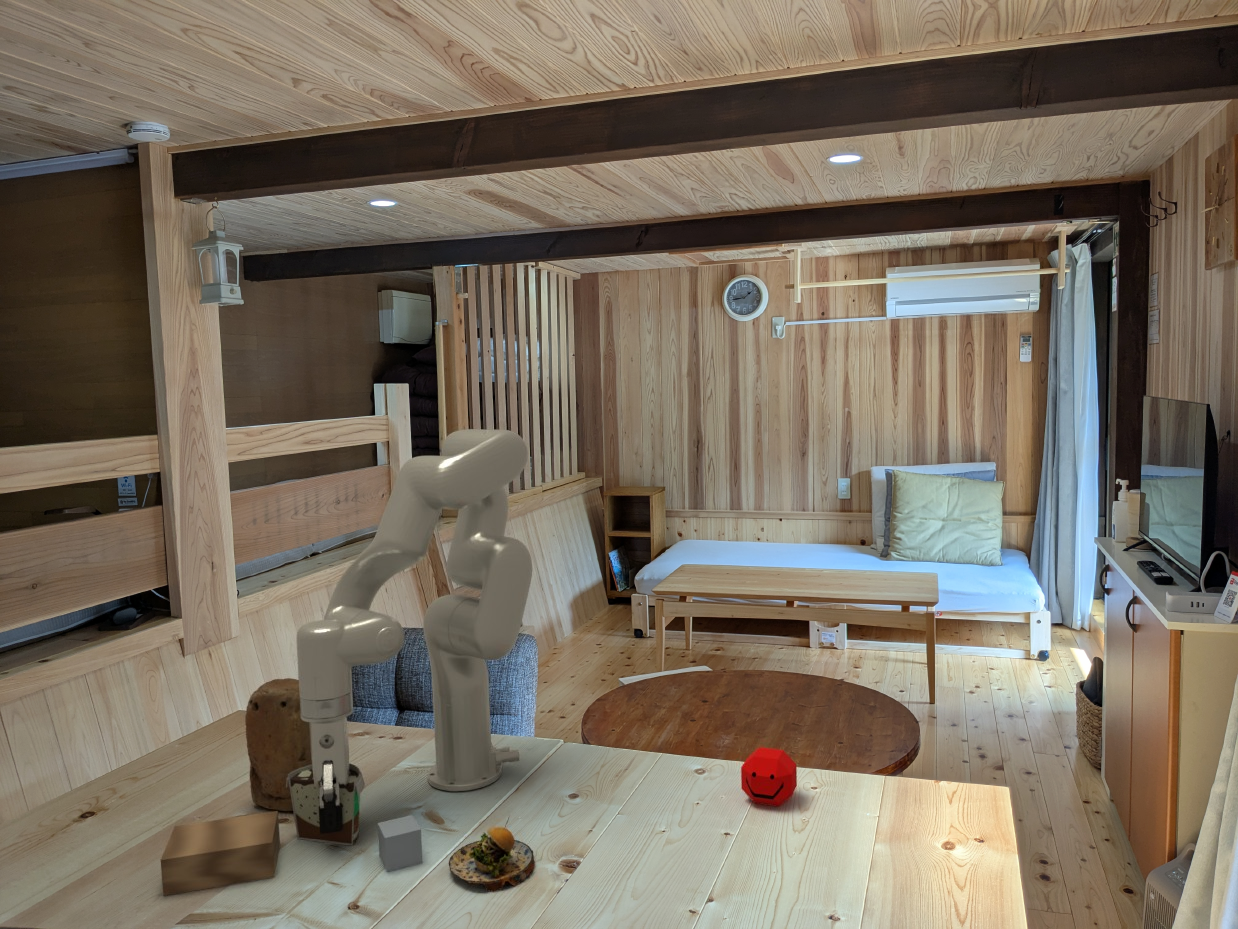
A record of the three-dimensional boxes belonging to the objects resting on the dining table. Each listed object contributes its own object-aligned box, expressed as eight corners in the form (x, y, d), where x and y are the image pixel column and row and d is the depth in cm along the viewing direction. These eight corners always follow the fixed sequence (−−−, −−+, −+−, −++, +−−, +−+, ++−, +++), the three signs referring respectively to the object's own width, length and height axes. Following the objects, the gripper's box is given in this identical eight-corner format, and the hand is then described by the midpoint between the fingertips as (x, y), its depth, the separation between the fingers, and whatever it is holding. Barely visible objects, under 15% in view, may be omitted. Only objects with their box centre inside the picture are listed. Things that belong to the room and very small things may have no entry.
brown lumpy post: (328, 795, 151) (321, 677, 149) (303, 816, 144) (295, 692, 142) (270, 791, 153) (262, 675, 152) (243, 811, 146) (234, 690, 145)
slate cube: (414, 848, 133) (412, 815, 132) (422, 863, 128) (420, 829, 128) (379, 856, 131) (377, 823, 130) (386, 872, 126) (384, 838, 126)
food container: (383, 827, 139) (379, 763, 138) (361, 847, 133) (357, 781, 132) (313, 819, 143) (309, 757, 142) (289, 838, 137) (284, 774, 136)
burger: (458, 849, 132) (456, 800, 132) (539, 848, 132) (537, 798, 131) (439, 895, 120) (437, 841, 120) (528, 894, 120) (526, 840, 119)
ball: (738, 807, 142) (737, 760, 141) (750, 786, 149) (749, 741, 149) (789, 814, 139) (788, 766, 138) (799, 792, 146) (798, 746, 146)
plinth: (280, 843, 135) (277, 810, 135) (274, 877, 126) (272, 842, 125) (177, 859, 131) (174, 826, 131) (163, 896, 122) (160, 860, 121)
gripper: (352, 721, 128) (358, 843, 130) (352, 684, 145) (357, 793, 146) (296, 727, 126) (302, 851, 127) (303, 689, 143) (308, 800, 144)
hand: (332, 819), depth 137 cm, fingers closed on food container, 6 cm apart
